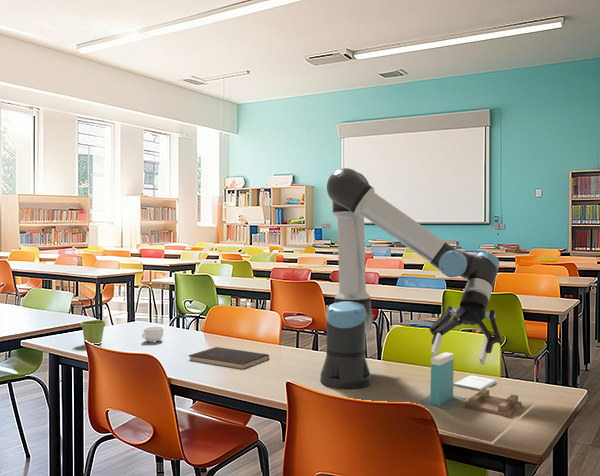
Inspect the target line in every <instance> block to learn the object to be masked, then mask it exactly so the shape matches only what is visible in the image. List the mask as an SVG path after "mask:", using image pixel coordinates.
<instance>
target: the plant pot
mask: <svg viewBox="0 0 600 476" xmlns="http://www.w3.org/2000/svg"><path fill="white" fill-rule="evenodd" d="M106 323H107V321H105V320H99V319H96V320H85V321H81V322H80V326H81V328H82V333H83V340H87V341H88V342H90V343H94V344H95V343H100V342H102V341H103V335H104V328H105V325H106Z"/></svg>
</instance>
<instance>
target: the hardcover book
mask: <svg viewBox="0 0 600 476" xmlns="http://www.w3.org/2000/svg"><path fill="white" fill-rule="evenodd" d="M188 357H189V361H193V362H199V363H204V364H205V363H206V364H211V365H217V366H223V367H230V368H235V369H242V370H244V369H246V368H249V367H251V366H254V365H256V364H260V363H262V362H264V361H267V360H269V359H270V355H269V354H266V353H261V352H254V351H246V350H241V349H233V348H225V347H219V346H215V347H212V348H208V349H204V350H202V351H201V350H200V351H198V352H195V353H193V354H189V355H188Z"/></svg>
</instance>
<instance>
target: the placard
mask: <svg viewBox="0 0 600 476" xmlns="http://www.w3.org/2000/svg"><path fill="white" fill-rule="evenodd" d="M454 356H455V353H452V352H442V353H440V354H437V356H435V357H431V358H430V395H431V403H430V404H435V405H439V406H440V405H441V404H443V403H444V402H446V401H448V400H449V399H451V398H453V396H454V386H453V384H454V359H455V357H454Z"/></svg>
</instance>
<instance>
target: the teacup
mask: <svg viewBox="0 0 600 476" xmlns="http://www.w3.org/2000/svg"><path fill="white" fill-rule="evenodd" d="M141 337H142V339H143V340H145V341H146V342H148V341H149V342H148V343H155V342H154V341H159V342H160V341H161V340H162V339H163V337H164V326H161V325H160V326H158V325H155V326H154V325H151V326H145V327H143V333H142V335H141Z"/></svg>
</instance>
